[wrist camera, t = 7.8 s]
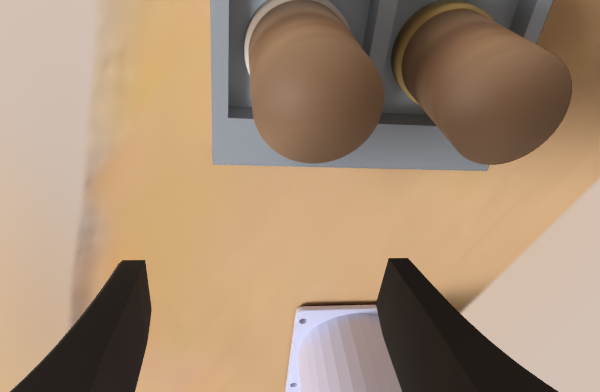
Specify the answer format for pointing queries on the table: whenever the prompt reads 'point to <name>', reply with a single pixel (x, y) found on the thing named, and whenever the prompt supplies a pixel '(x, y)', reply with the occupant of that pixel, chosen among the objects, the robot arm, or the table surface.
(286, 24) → the sleeve seated
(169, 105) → the table surface
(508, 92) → the sleeve
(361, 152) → the grey divided tray
